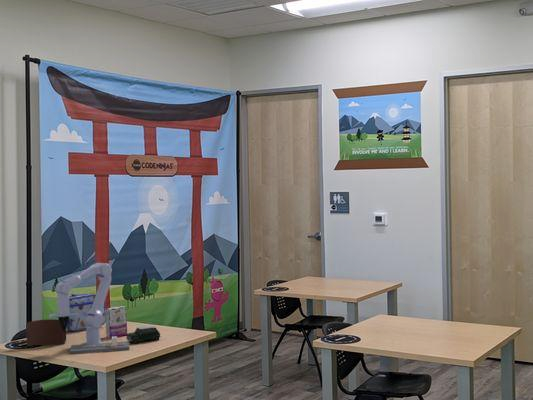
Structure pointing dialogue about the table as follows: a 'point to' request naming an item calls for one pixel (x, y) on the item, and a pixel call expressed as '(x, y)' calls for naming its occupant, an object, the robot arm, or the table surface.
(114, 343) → the fader knob
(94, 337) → the robot arm
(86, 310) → the lunch box
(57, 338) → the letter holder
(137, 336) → the miniature car
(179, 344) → the table surface
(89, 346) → the console board
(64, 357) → the table surface
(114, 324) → the candy bar box
